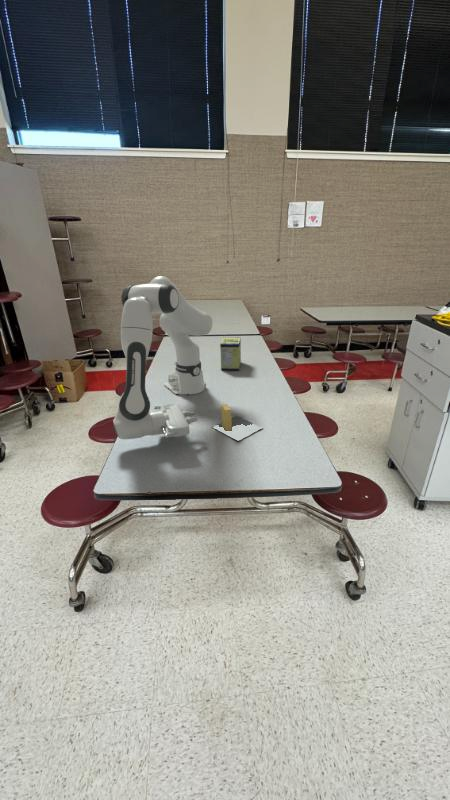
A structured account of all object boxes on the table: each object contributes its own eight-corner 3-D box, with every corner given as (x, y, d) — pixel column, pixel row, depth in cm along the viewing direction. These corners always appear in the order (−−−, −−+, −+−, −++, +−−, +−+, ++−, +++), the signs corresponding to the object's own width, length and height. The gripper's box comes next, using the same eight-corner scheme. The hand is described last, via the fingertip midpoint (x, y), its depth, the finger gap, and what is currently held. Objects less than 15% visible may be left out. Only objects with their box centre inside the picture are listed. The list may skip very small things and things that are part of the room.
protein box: (240, 362, 214) (240, 336, 208) (239, 371, 200) (239, 344, 194) (223, 361, 215) (222, 336, 209) (220, 371, 201) (220, 344, 195)
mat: (211, 427, 144) (211, 427, 144) (236, 416, 152) (236, 415, 152) (238, 442, 134) (238, 441, 134) (263, 428, 142) (263, 427, 142)
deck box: (225, 431, 140) (225, 410, 136) (221, 425, 144) (221, 404, 140) (231, 430, 141) (231, 409, 136) (227, 424, 145) (227, 403, 141)
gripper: (163, 428, 122) (202, 421, 125) (154, 403, 139) (189, 398, 143) (165, 443, 124) (203, 436, 128) (156, 417, 142) (190, 412, 146)
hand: (195, 416), depth 136 cm, fingers open, 2 cm apart
